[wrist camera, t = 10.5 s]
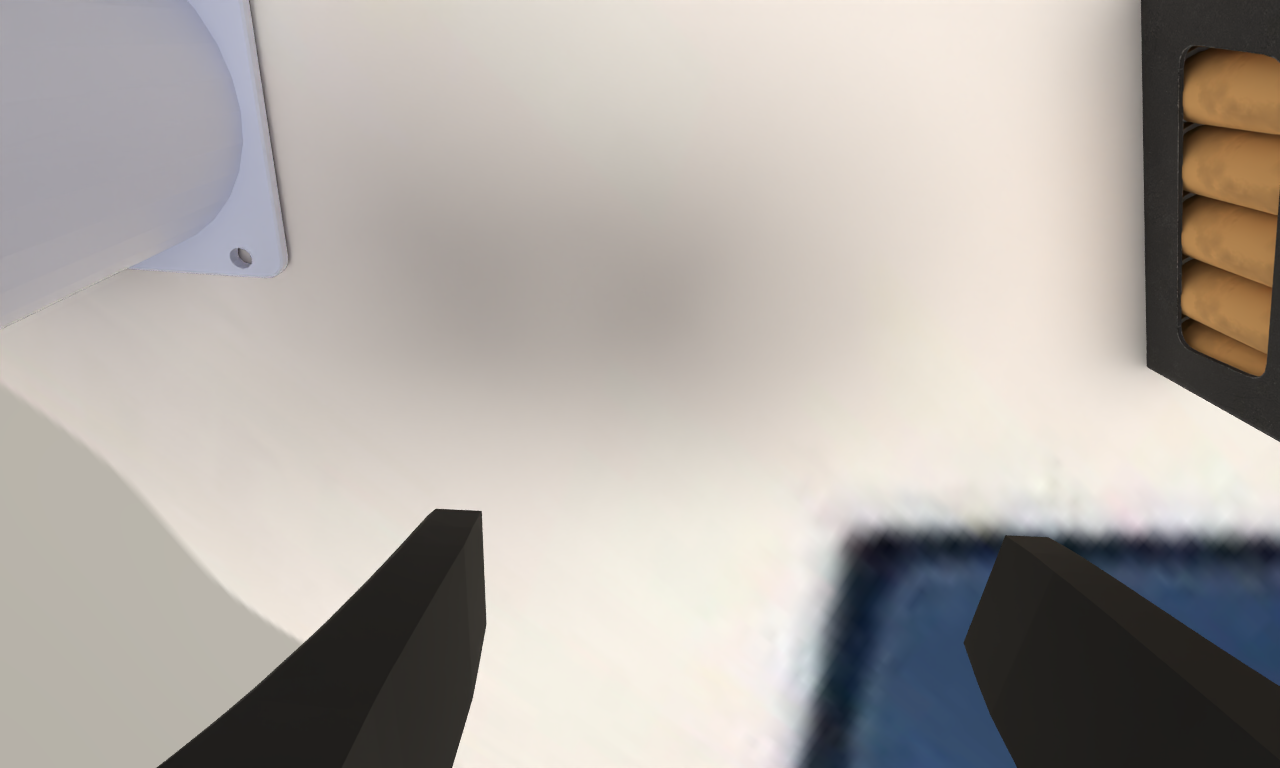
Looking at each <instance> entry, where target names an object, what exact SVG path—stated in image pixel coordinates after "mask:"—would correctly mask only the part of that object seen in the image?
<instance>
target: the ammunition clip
mask: <svg viewBox="0 0 1280 768" xmlns="http://www.w3.org/2000/svg"><path fill="white" fill-rule="evenodd" d="M1141 28H1142V91H1143V153H1144V216H1145V278H1146V340H1147V367H1148V368H1150V369H1152V370H1153V371H1155V372H1157V373H1159V374H1160V375H1162V376H1164V377H1166V378H1168V379H1169V380H1171V381H1173V382H1175V383H1176V384H1178V385H1180V386H1182V387H1183V388H1185V389H1187V390H1189V391H1191V392H1192V393H1194V394H1196V395H1198V396H1199V397H1201V398H1203V399H1205V400H1206V401H1208V402H1210V403H1212V404H1214V405H1215V406H1217V407H1219V408H1221V409H1222V410H1224V411H1226V412H1228V413H1229V414H1231V415H1233V416H1235V417H1237V418H1238V419H1240V420H1242V421H1244V422H1245V423H1247V424H1249V425H1251V426H1252V427H1254V428H1256V429H1258V430H1260V431H1261V432H1263V433H1265V434H1267V435H1268V436H1270V437H1272V438H1274V439H1275V440H1277V441H1279V442H1280V0H1141Z"/></svg>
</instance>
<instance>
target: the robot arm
mask: <svg viewBox="0 0 1280 768" xmlns="http://www.w3.org/2000/svg"><path fill="white" fill-rule="evenodd" d="M238 248H241V249H245V250H246V251H247V252H248V253H249V254H250V256H251V258H252V264H249V263H246V262H244V261H243V260H241V259H240V257H239V255H238ZM287 264H288V253H287V247H286V240H285V234H284V227H283V221H282V214H281V208H280V201H279V194H278V188H277V181H276V175H275V168H274V162H273V155H272V149H271V142H270V136H269V129H268V122H267V116H266V109H265V103H264V96H263V90H262V83H261V77H260V70H259V64H258V57H257V50H256V44H255V37H254V31H253V24H252V18H251V11H250V5H249V0H0V330H1V329H3V328H5V327H7V326H9V325H11V324H13V323H15V322H17V321H19V320H21V319H23V318H25V317H28V316H30V315H32V314H34V313H36V312H38V311H40V310H42V309H44V308H46V307H48V306H50V305H52V304H54V303H57V302H59V301H61V300H63V299H65V298H67V297H69V296H71V295H73V294H75V293H77V292H79V291H81V290H84V289H86V288H88V287H90V286H92V285H94V284H96V283H98V282H100V281H102V280H104V279H106V278H108V277H110V276H113V275H115V274H117V273H119V272H121V271H123V270H125V269H136V270H151V271H166V272H181V273H196V274H211V275H226V276H241V277H256V278H271V277H275V276H276V275H278V274H279V273H281V272H282V271H284V270H285V268H286V266H287ZM485 629H486V604H485V580H484V556H483V532H482V511H471V510H449V509H435V510H434V511H433V512H431V513H430V514H429V515H428V516H427V517H426V518H425V519H424V520H423V521H422V522H421V523H420V525H419V526H418V527H417V528H416V529H415V530H414V531H413V532H412V533H411V534H410V536H409V537H408V538H407V539H406V540H405V541H404V542H403V543H402V544H401V545H400V547H399V548H398V549H397V550H396V551H395V552H394V553H393V554H392V555H391V556H390V557H389V558H388V559H387V561H386V562H385V563H384V564H383V565H382V566H381V567H380V568H379V569H378V570H377V571H376V572H375V573H374V574H373V575H372V576H371V577H370V578H369V580H368V581H367V582H366V583H365V584H364V585H363V586H362V587H361V588H360V589H359V590H358V591H357V592H356V593H355V594H354V595H353V596H352V597H351V598H350V599H349V600H348V601H347V602H346V603H345V604H344V605H343V606H342V607H341V608H340V609H339V610H338V611H337V612H336V613H335V614H334V615H333V616H332V617H331V618H330V619H329V620H328V621H327V622H326V623H325V624H324V625H323V626H321V627H320V628H319V629H318V630H317V631H316V632H315V633H314V634H313V635H312V636H311V637H310V638H309V639H308V640H307V641H305V642H304V643H303V644H302V645H301V646H300V647H299V648H298V649H297V650H296V651H294V652H293V653H292V654H291V655H290V656H289V657H288V658H287V659H286V660H285V661H284V662H282V663H281V664H280V665H279V666H278V667H277V668H276V669H275V670H274V671H273V672H272V673H270V674H269V675H268V676H267V677H266V678H265V679H264V680H263V681H262V682H261V683H259V684H258V685H257V686H256V687H255V688H254V689H253V690H252V691H250V692H249V693H248V694H247V695H246V696H244V697H243V698H242V699H241V700H240V701H239V702H237V703H236V704H235V705H234V706H233V707H232V708H230V709H229V710H228V711H227V712H226V713H225V714H223V715H222V716H221V717H220V718H218V719H217V720H216V721H215V722H213V723H212V724H211V725H210V726H209V727H207V728H206V729H205V730H204V731H202V732H201V733H200V734H199V735H197V736H196V737H195V738H194V739H192V740H191V741H190V742H189V743H187V744H186V745H185V746H184V747H182V748H181V749H180V750H179V751H178V752H176V753H175V754H174V755H172V756H171V757H170V758H169V759H167V760H166V761H165V762H163V763H162V764H161V765H159V766H158V767H157V768H452V766H453V763H454V760H455V756H456V753H457V749H458V746H459V743H460V739H461V736H462V733H463V729H464V726H465V722H466V719H467V716H468V712H469V709H470V705H471V702H472V698H473V694H474V689H475V683H476V678H477V673H478V668H479V662H480V657H481V651H482V646H483V640H484V635H485ZM964 645H965V648H966V651H967V654H968V657H969V660H970V662H971V665H972V668H973V671H974V674H975V677H976V679H977V682H978V685H979V687H980V690H981V692H982V695H983V697H984V700H985V702H986V705H987V708H988V710H989V713H990V715H991V717H992V719H993V721H994V723H995V725H996V727H997V729H998V731H999V733H1000V735H1001V737H1002V739H1003V741H1004V743H1005V745H1006V747H1007V749H1008V751H1009V752H1010V754H1011V756H1012V758H1013V760H1014V762H1015V764H1016V766H1017V768H1280V686H1278V685H1277V684H1275V683H1274V682H1272V681H1270V680H1269V679H1267V678H1266V677H1264V676H1263V675H1261V674H1259V673H1258V672H1256V671H1255V670H1253V669H1252V668H1250V667H1248V666H1247V665H1245V664H1244V663H1242V662H1241V661H1239V660H1238V659H1236V658H1235V657H1233V656H1231V655H1230V654H1228V653H1227V652H1225V651H1224V650H1222V649H1221V648H1219V647H1218V646H1216V645H1215V644H1213V643H1212V642H1210V641H1208V640H1207V639H1205V638H1204V637H1202V636H1201V635H1199V634H1198V633H1196V632H1195V631H1193V630H1192V629H1190V628H1189V627H1187V626H1186V625H1184V624H1183V623H1181V622H1180V621H1178V620H1177V619H1175V618H1174V617H1172V616H1171V615H1169V614H1168V613H1166V612H1165V611H1163V610H1162V609H1160V608H1159V607H1157V606H1156V605H1154V604H1153V603H1151V602H1150V601H1148V600H1147V599H1145V598H1144V597H1142V596H1141V595H1139V594H1138V593H1136V592H1135V591H1133V590H1132V589H1130V588H1129V587H1127V586H1126V585H1124V584H1123V583H1121V582H1120V581H1118V580H1117V579H1115V578H1114V577H1112V576H1111V575H1109V574H1107V573H1106V572H1104V571H1103V570H1101V569H1100V568H1098V567H1097V566H1095V565H1094V564H1092V563H1090V562H1089V561H1087V560H1086V559H1084V558H1083V557H1081V556H1079V555H1078V554H1076V553H1074V552H1073V551H1071V550H1069V549H1068V548H1066V547H1064V546H1063V545H1061V544H1059V543H1057V542H1056V541H1054V540H1052V539H1050V538H1048V537H1029V536H1007V535H1005V538H1004V540H1003V543H1002V546H1001V548H1000V551H999V553H998V556H997V558H996V561H995V564H994V566H993V569H992V571H991V574H990V576H989V579H988V582H987V584H986V587H985V589H984V592H983V594H982V597H981V600H980V602H979V605H978V607H977V610H976V612H975V615H974V617H973V620H972V623H971V625H970V628H969V630H968V633H967V635H966V638H965V641H964Z"/></svg>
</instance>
